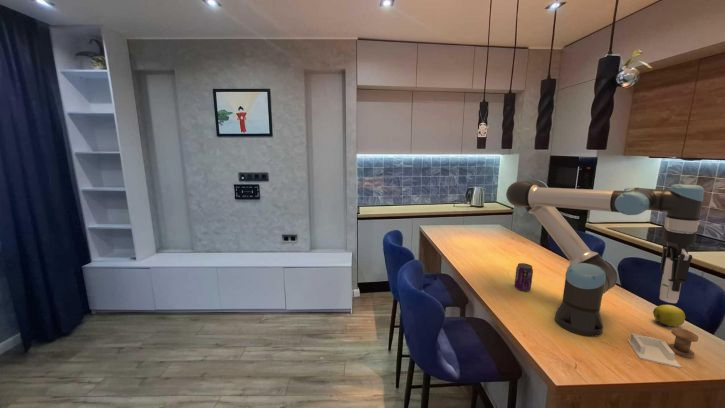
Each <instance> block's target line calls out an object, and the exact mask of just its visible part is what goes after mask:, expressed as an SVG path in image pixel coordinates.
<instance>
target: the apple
mask: <svg viewBox="0 0 725 408" xmlns="http://www.w3.org/2000/svg"><path fill="white" fill-rule="evenodd" d="M652 314H653V317H654V318H655V321H657V322H659V323H661V324H662V325H665V326H668V327H679V326H682V325H683V324H684V323H685V320H686V315H685V312H684V311H683V310H682V309H681V308H679V307H677V306H675V305H672V304H661V305H658V306H656V307H655V308H654V309H653V311H652Z"/></svg>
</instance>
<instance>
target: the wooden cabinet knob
mask: <svg viewBox="0 0 725 408" xmlns="http://www.w3.org/2000/svg"><path fill="white" fill-rule="evenodd" d="M671 334H672V335H673V336H675V338H674V343H672V342H671V343H668V344H667V345H668V346H669V347H670V348H671V350H672V351H673V352H674V353H675V355H677V356H679V357H682V358H685V359H693V358H694V357H695V352H694V351H693V350H692V349H691V346H692V342H693V343H695V342H698V340H699V336H698V335H697V334H696V333H694V332H692V331H689V330H688V329H684V328H679V327H672V328H671Z"/></svg>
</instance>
